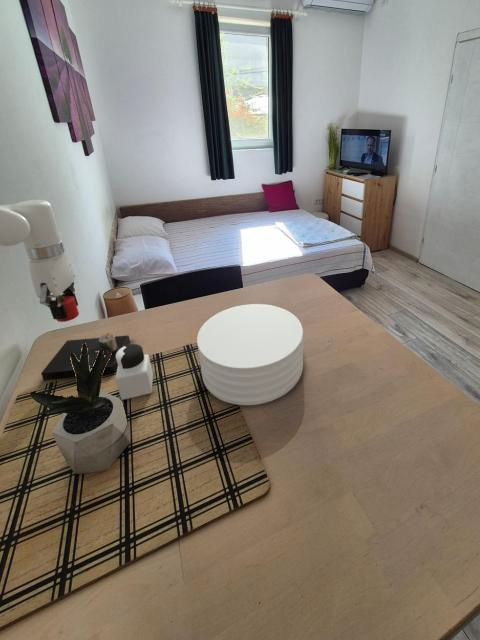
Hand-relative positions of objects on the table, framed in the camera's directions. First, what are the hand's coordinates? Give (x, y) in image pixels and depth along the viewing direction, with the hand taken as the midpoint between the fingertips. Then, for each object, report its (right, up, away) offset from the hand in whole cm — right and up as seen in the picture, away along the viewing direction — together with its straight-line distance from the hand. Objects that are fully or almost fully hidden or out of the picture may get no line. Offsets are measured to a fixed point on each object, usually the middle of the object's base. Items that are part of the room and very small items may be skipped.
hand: (66, 311), depth 88 cm
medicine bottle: (+21, -19, -3) cm, 29 cm away
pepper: (0, -1, +1) cm, 2 cm away
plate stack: (+50, -16, +4) cm, 53 cm away
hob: (+3, -15, +7) cm, 17 cm away
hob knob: (+9, -12, +6) cm, 16 cm away
